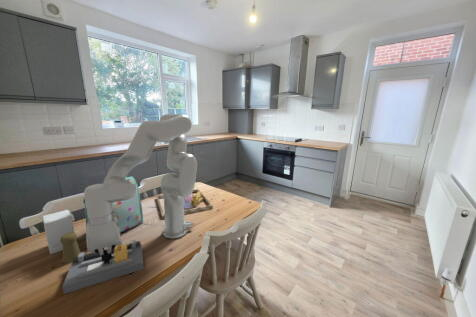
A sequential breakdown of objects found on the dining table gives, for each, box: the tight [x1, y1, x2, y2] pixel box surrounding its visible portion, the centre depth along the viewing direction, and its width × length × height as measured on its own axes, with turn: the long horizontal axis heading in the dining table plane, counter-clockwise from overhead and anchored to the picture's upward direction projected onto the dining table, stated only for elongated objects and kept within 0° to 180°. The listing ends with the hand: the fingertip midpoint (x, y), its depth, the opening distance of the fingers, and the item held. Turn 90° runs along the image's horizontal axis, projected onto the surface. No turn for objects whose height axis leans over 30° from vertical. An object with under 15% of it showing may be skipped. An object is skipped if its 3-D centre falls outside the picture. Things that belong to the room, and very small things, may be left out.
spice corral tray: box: [155, 188, 214, 220], centre depth 131 cm, size 31×32×3 cm
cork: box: [60, 231, 82, 264], centre depth 79 cm, size 6×6×11 cm
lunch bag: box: [82, 175, 144, 233], centre depth 99 cm, size 23×16×27 cm
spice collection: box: [183, 191, 205, 210], centre depth 134 cm, size 25×24×9 cm
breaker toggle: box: [114, 243, 128, 263], centre depth 75 cm, size 4×4×6 cm
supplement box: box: [42, 209, 75, 255], centre depth 86 cm, size 9×9×15 cm
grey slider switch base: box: [61, 239, 144, 295], centre depth 75 cm, size 24×13×5 cm, turn 118°
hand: (107, 261), depth 73 cm, fingers closed
